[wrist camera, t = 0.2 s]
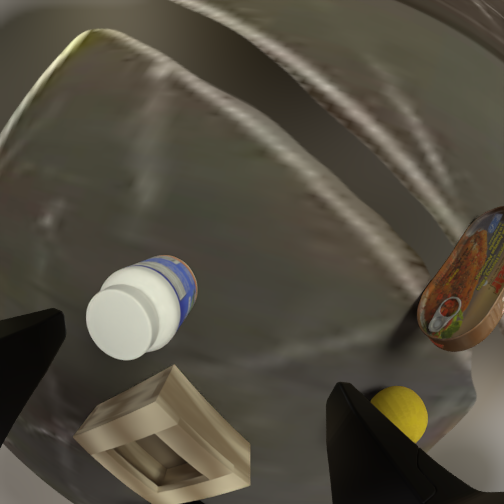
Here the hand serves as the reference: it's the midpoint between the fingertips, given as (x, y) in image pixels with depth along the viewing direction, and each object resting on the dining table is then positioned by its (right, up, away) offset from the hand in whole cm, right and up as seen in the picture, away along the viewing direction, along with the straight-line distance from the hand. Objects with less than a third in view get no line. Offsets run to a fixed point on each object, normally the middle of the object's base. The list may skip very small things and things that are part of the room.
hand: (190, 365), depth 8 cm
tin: (+22, +2, +15) cm, 27 cm away
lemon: (+15, -11, +17) cm, 25 cm away
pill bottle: (-5, +1, +15) cm, 16 cm away
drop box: (-7, -15, +17) cm, 23 cm away
